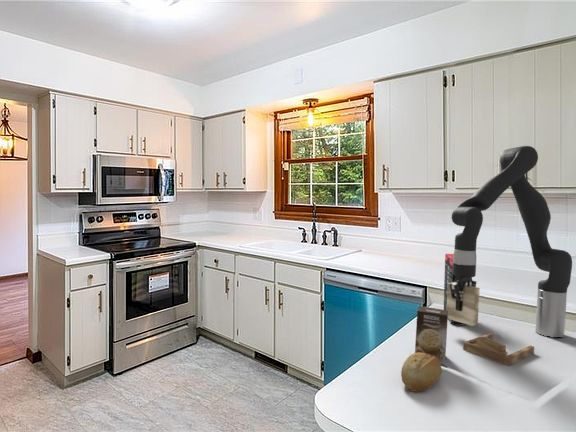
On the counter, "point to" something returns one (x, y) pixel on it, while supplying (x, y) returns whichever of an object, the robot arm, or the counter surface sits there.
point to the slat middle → (491, 350)
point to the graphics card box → (449, 281)
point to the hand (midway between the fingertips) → (462, 309)
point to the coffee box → (431, 332)
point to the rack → (494, 355)
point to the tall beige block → (464, 306)
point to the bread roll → (420, 371)
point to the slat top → (491, 344)
